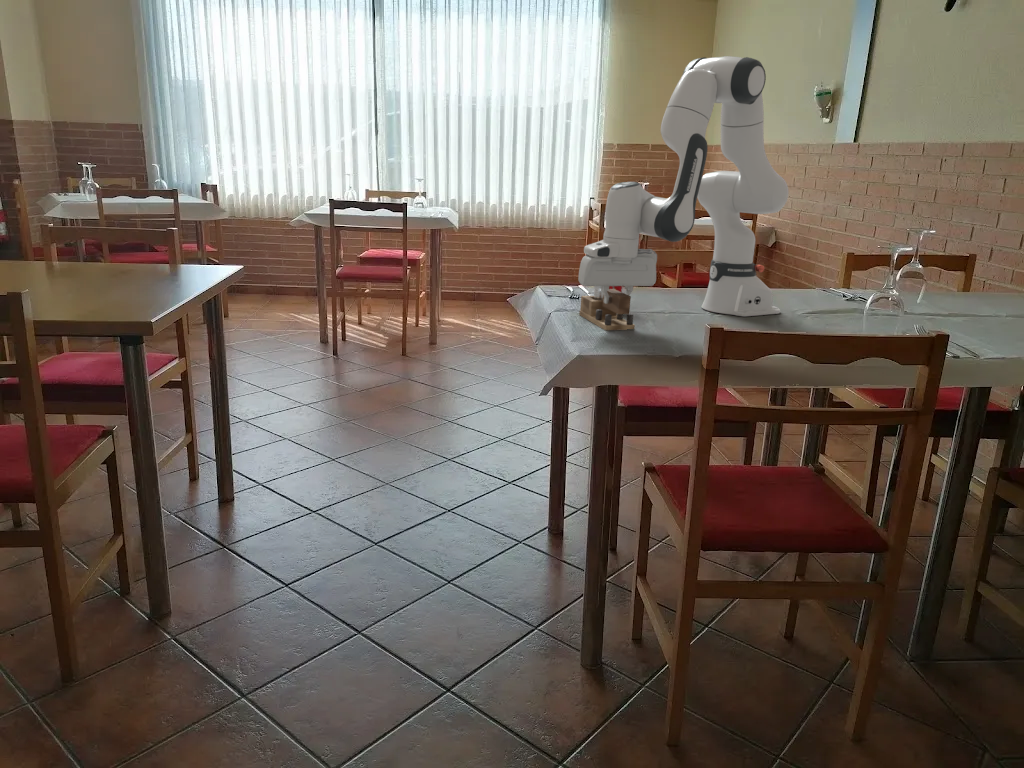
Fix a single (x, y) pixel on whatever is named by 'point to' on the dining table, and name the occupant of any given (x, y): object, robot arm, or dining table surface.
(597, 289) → the pin
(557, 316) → the dining table surface
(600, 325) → the board
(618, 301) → the bar
